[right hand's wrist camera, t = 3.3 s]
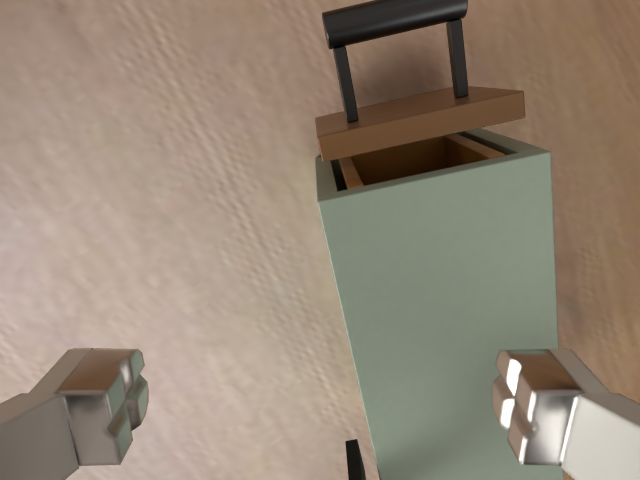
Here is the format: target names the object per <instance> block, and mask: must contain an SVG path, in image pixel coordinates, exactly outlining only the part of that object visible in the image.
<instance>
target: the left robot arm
mask: <svg viewBox="0 0 640 480" xmlns="http://www.w3.org/2000/svg"><path fill="white" fill-rule="evenodd" d="M346 452H347V464H348V476H349V480H366V477H365V470H364V466H363V461H362V457H361V453H360V449H359V445H358V441H357V439H355V440H350V441H346Z"/></svg>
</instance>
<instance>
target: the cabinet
mask: <svg viewBox="0 0 640 480" xmlns="http://www.w3.org/2000/svg"><path fill="white" fill-rule="evenodd" d="M455 134H458V135H460V136H463V137H465V138H468V139H470V140H472V141H475V142H477V143H479V144H482V145H484V146H487V147H489V148H491V149H494V150H496V151H498V152H501V153H503V154H505V156H501V157H496V158H492V159H487V160H482V161H478V162H473V163H469V164H464V165H459V166H455V167H450V168H445V169H441V170H436V171H431V172H427V173H422V174H418V175H413V176H408V177H404V178H399V179H394V180H390V181H385V182H380V183H376V184H371V185H367V186H362V187H357V188H353V189H348V190H344V186H343V181H342V176H341V171H340V166H339V161H338V159H335V160H330V161H326V162H323V161H322V158H321V157H317V158H315V167H316V187H317V203H318V207H319V212H320V216H321V221H322V225H323V230H324V234H325V238H326V243H327V247H328V252H329V256H330V260H331V265H332V269H333V274H334V278H335V282H336V287H337V291H338V296H339V300H340V305H341V309H342V313H343V318H344V322H345V327H346V331H347V335H348V340H349V344H350V349H351V353H352V358H353V362H354V366H355V371H356V375H357V380H358V384H359V388H360V393H361V397H362V402H363V406H364V411H365V415H366V419H367V424H368V428H369V433H370V437H371V441H372V446H373V450H374V455H375V459H376V464H377V468H378V472H379V477H380V480H564V473H563V469H562V468H561V466H549V465H520V464H519V462H518V460H517V458H516V456H515V454H514V452H513V451H512V449H511V447H510V445H509V443H508V441H507V438H508V432H509V431H508V430H506V429H505V428H503V427H502V426H501V425H499V423H498V421H497V419H496V417H495V414H494V411H493V407H492V397H491V392H492V384H493V381H494V380H495V379H496V378H497V377H498V376H499V375H500V372H499V371H498V369H497V367H496V366H495V365H496V359H497V355H498V353H499V351H500V350H518V349H549V348H559V347H558V322H557V296H556V271H555V246H554V221H553V196H552V171H551V152H550V151H547V150H544V149H541V148H539V147H536V146H533V145H530V144H527V143H524V142H521V141H518V140H515V139H511V138H508V137H505V136H502V135H499V134H496V133H493V132H490V131H487V130H484V129H481V128H476V129H471V130H467V131H462V132H458V133H455Z"/></svg>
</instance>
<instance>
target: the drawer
mask: <svg viewBox="0 0 640 480" xmlns="http://www.w3.org/2000/svg"><path fill="white" fill-rule="evenodd" d="M467 6H468V0H374V1H370V2H365V3H361V4H357V5H353V6H349V7H344V8H340V9H336V10H332V11H328V12H323V13H322V19H323V25H324V30H325V35H326V40H327V45H328V48H329V49H333V53H334V58H335V63H336V68H337V74H338V79H339V84H340V89H341V95H342V100H343V105H344V110H345V111H343V112H339V113H335V114H330V115H326V116H321V117H317V118H315V121H316V131H317V139H318V144H319V149H320V153H321V158H322V161H323V162H326V161H330V160H335V159H338V161H339V166H340V171H341V176H342V181H343V186H344V190H348V189H353V188H357V187H362V186H367V185H371V184H376V183H380V182H385V181H390V180H394V179H399V178H404V177H408V176H413V175H418V174H422V173H427V172H431V171H436V170H441V169H445V168H450V167H455V166H459V165H464V164H469V163H473V162H478V161H482V160H487V159H492V158H496V157H501V156H505V154H503V153H501V152H498V151H496V150H494V149H491V148H489V147H487V146H484V145H482V144H479V143H477V142H475V141H472V140H470V139H468V138H465V137H463V136H460V135H458V134H455V133H458V132H462V131H467V130H471V129H476V128H480V127H485V126H489V125H494V124H499V123H503V122H508V121H512V120H517V119H521V118H524V117H525V105H524V92H523V91H518V90H506V89H495V88H483V87H472V86H468V82H467V72H466V61H465V51H464V41H463V31H462V21H461V19H462V18H464V17H465V16H466V13H467ZM445 22H447V23H446V26H447V36H448V45H449V54H450V63H451V72H452V82H453V87H450V88H445V89H441V90H437V91H432V92H428V93H423V94H419V95H414V96H410V97H406V98H401V99H397V100H392V101H388V102H383V103H379V104H375V105H370V106H366V107H361V108H357V107H356V101H355V96H354V90H353V85H352V79H351V74H350V68H349V63H348V57H347V52H346V47H345V46H347V45H351V44H355V43H359V42H364V41H368V40H372V39H376V38H381V37H385V36H389V35H394V34H398V33H402V32H406V31H411V30H415V29H419V28H424V27H428V26H432V25H436V24H441V23H445Z"/></svg>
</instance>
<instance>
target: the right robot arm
mask: <svg viewBox="0 0 640 480" xmlns="http://www.w3.org/2000/svg"><path fill="white" fill-rule="evenodd" d="M144 366H145V365H144V360H143V355H142V352H141V351H140V350H139V349H105V348H96V349H94V348H73V349H70V350H68V351H67V352H66V353H65V354H64V355H63V356H62V357H61V358H60V359H59V361H58V362H57V363H56V364H55V365H54V366H53V367H52V368H51V369H50V370H49V372H48V373H47V374H46V375H45V376H44V377H43V378H42V379H41V380H40V381H39V382H38V384H37V385H36V386H35V387H34V388H33V389H32V390H31V391H30V392H29V393H26V394H19V395H17V396H15V397H13V398H11V399H9V400H7V401H5V402H3V403H1V404H0V480H65V479H66V478H68V477H69V476H70V475H71V474H72V473H74V472H75V471H76V470H77V469H78V468H79V466H90V465H120V464H121V462H122V460H123V458H124V456H125V454H126V453H127V451H128V449H129V447H130V445H131V443H132V441H133V438H132V432H131V431H132V430H134V429H135V428H137V427H138V426H139V425H141V423H142V421H143V419H144V417H145V415H146V410H147V406H148V397H149V390H148V384H147V381H146V380H145V379H144V378H143V377H142V376H141V375H140V372H141V371H142V369H143V367H144ZM495 366H496V367H497V369H498V371H499V372H500V375H499V376H498V377H497V378H496V379H495V380H494V381H493V384H492V392H491V397H492V407H493V411H494V414H495V417H496V419H497V421H498V423H499V425H501V426H502V427H503V428H505V429H506V430H508V431H509V432H508V438H507V441H508V443H509V445H510V447H511V449H512V451H513V452H514V454H515V456H516V458H517V460H518V462H519V464H520V465H549V466H561V468H562V469H563V470H564V471H565V472H567V473H568V474H569V475H570V476H571V477H573V478H574V479H575V480H640V404H639V403H637V402H635V401H633V400H631V399H629V398H627V397H625V396H623V395H621V394H614V393H611V392H610V391H609V390H608V389H607V388H606V387H605V386H604V385H603V384H602V382H601V381H600V380H599V379H598V378H597V377H596V376H595V375H594V374H593V373H592V371H591V370H590V369H589V368H588V367H587V366H586V365H585V364H584V363H583V362H582V361H581V359H580V358H579V357H578V356H577V355H576V354H575V353H574V352H573V351H572V350H570V349H568V348H549V349H518V350H500V351H499V353H498V355H497V359H496V365H495Z"/></svg>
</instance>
